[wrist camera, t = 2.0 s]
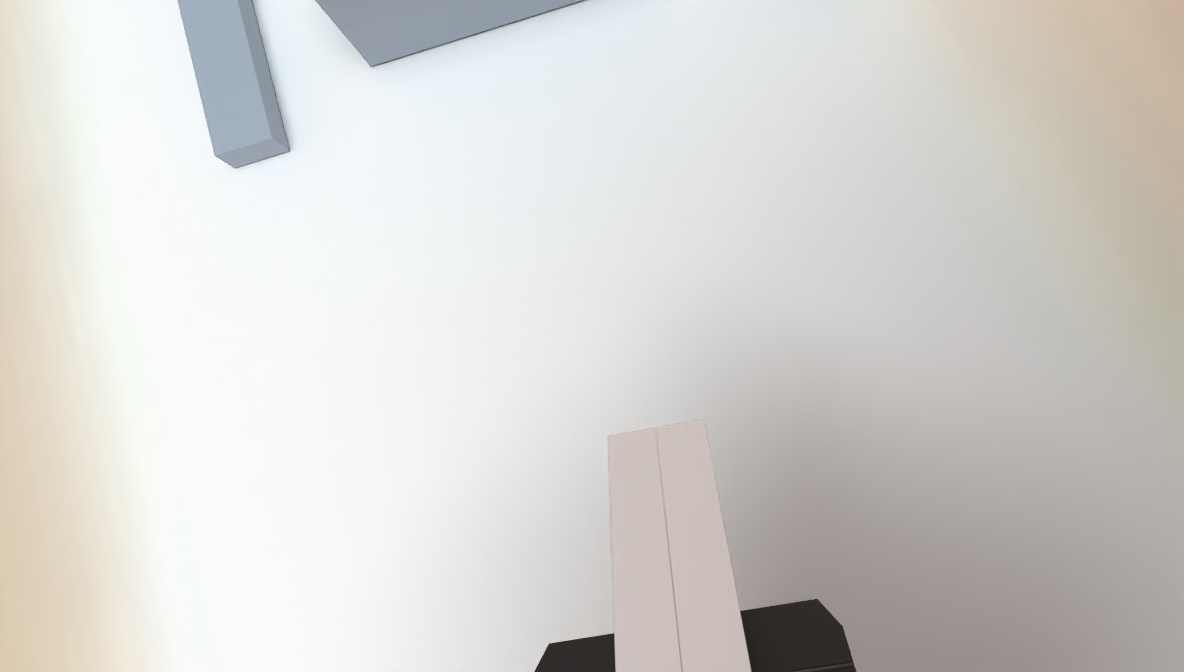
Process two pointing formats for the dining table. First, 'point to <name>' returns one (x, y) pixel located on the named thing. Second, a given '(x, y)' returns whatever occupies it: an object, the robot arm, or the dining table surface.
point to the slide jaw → (423, 22)
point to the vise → (233, 80)
